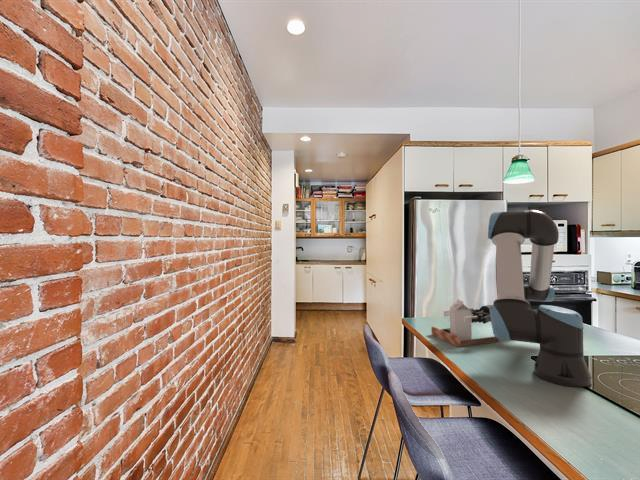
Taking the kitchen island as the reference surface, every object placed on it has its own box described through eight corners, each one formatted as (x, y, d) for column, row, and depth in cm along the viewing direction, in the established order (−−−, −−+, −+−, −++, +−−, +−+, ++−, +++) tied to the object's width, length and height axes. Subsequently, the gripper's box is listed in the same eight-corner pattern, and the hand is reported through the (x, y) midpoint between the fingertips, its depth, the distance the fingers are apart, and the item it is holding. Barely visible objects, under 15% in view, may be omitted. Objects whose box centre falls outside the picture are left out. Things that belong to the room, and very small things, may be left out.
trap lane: (498, 341, 139) (498, 333, 139) (458, 347, 133) (458, 337, 133) (468, 330, 158) (468, 322, 158) (431, 334, 152) (431, 326, 152)
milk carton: (465, 338, 145) (464, 298, 145) (471, 343, 137) (471, 301, 138) (450, 338, 145) (449, 298, 145) (455, 343, 138) (454, 301, 138)
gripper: (514, 327, 134) (474, 332, 129) (472, 315, 158) (436, 318, 153) (514, 310, 134) (474, 314, 129) (471, 300, 158) (436, 303, 153)
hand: (453, 316), depth 141 cm, fingers open, 13 cm apart
